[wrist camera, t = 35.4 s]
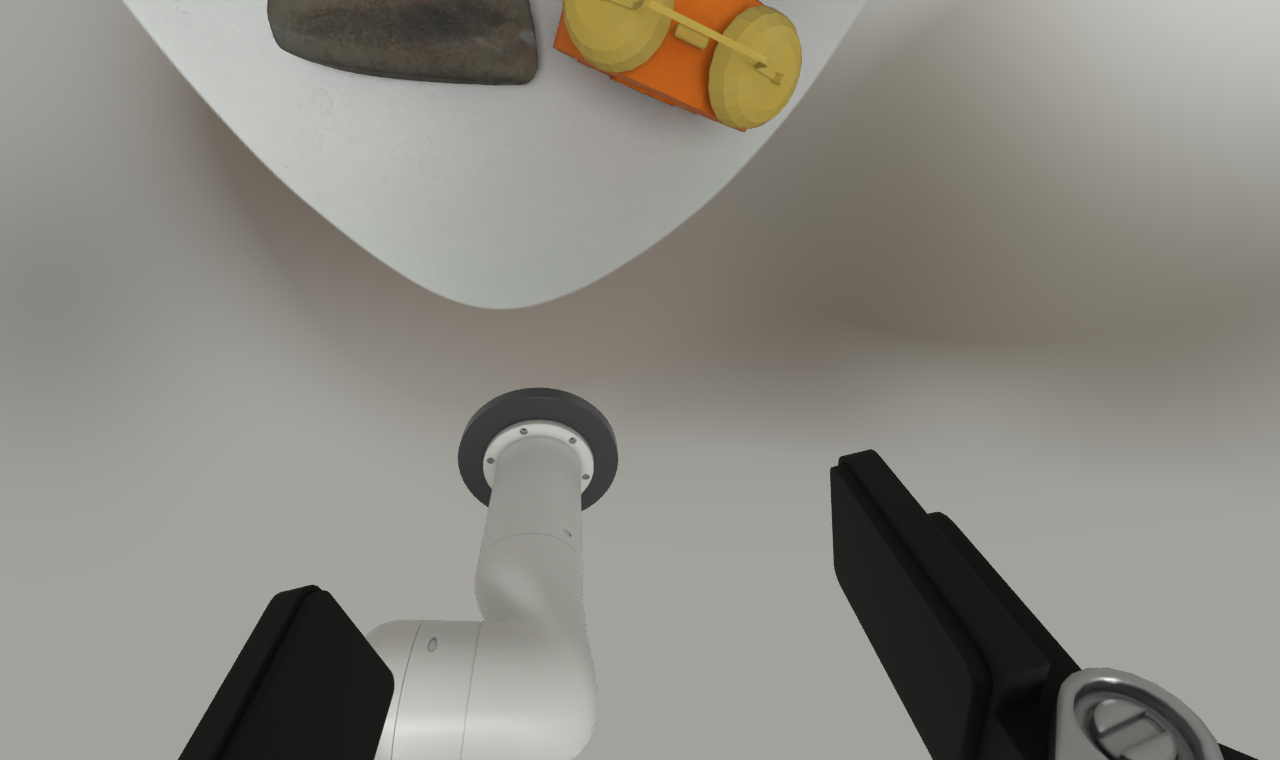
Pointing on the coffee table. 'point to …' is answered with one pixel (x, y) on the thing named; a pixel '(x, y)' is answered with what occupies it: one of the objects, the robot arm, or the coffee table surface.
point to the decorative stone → (412, 38)
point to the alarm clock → (690, 53)
